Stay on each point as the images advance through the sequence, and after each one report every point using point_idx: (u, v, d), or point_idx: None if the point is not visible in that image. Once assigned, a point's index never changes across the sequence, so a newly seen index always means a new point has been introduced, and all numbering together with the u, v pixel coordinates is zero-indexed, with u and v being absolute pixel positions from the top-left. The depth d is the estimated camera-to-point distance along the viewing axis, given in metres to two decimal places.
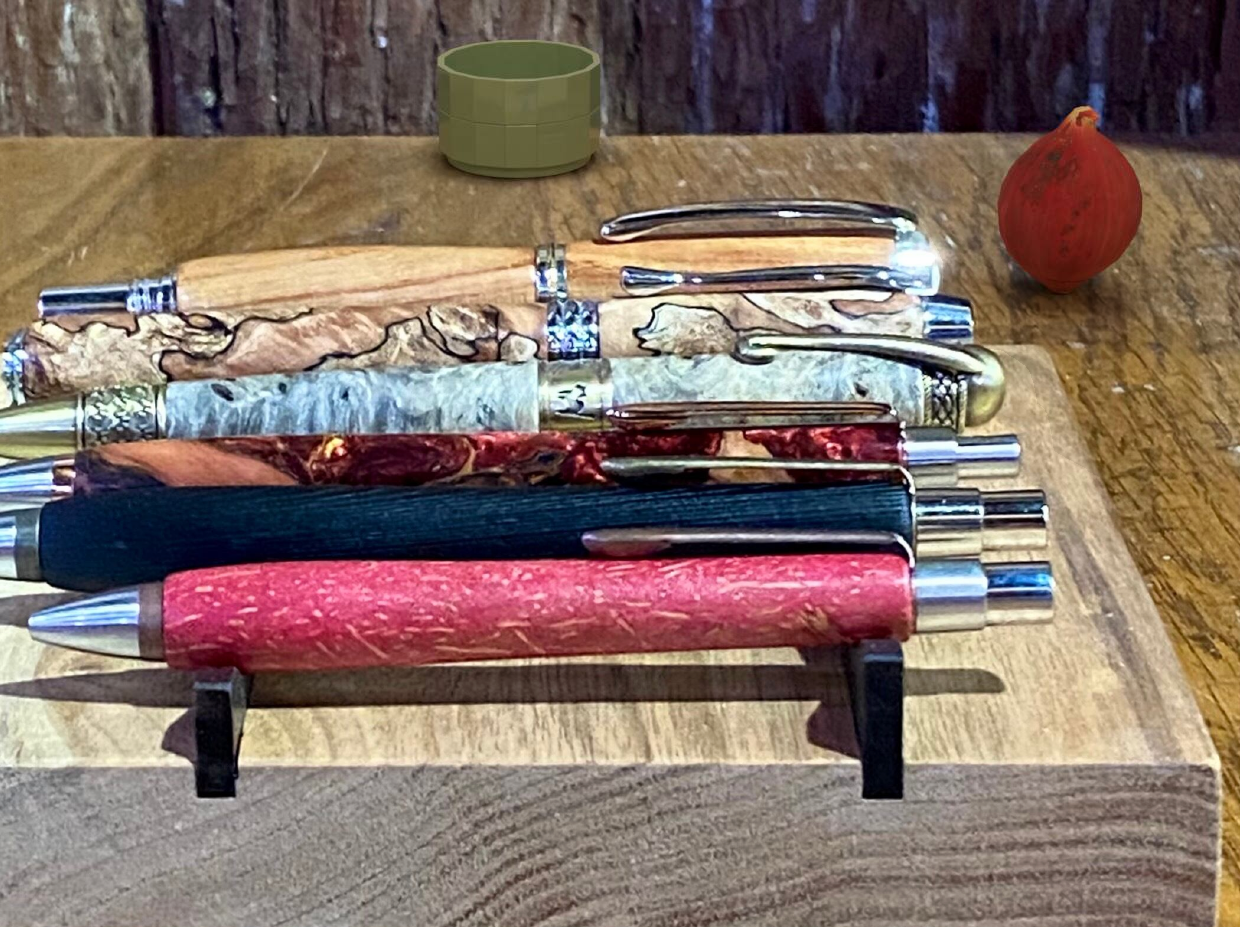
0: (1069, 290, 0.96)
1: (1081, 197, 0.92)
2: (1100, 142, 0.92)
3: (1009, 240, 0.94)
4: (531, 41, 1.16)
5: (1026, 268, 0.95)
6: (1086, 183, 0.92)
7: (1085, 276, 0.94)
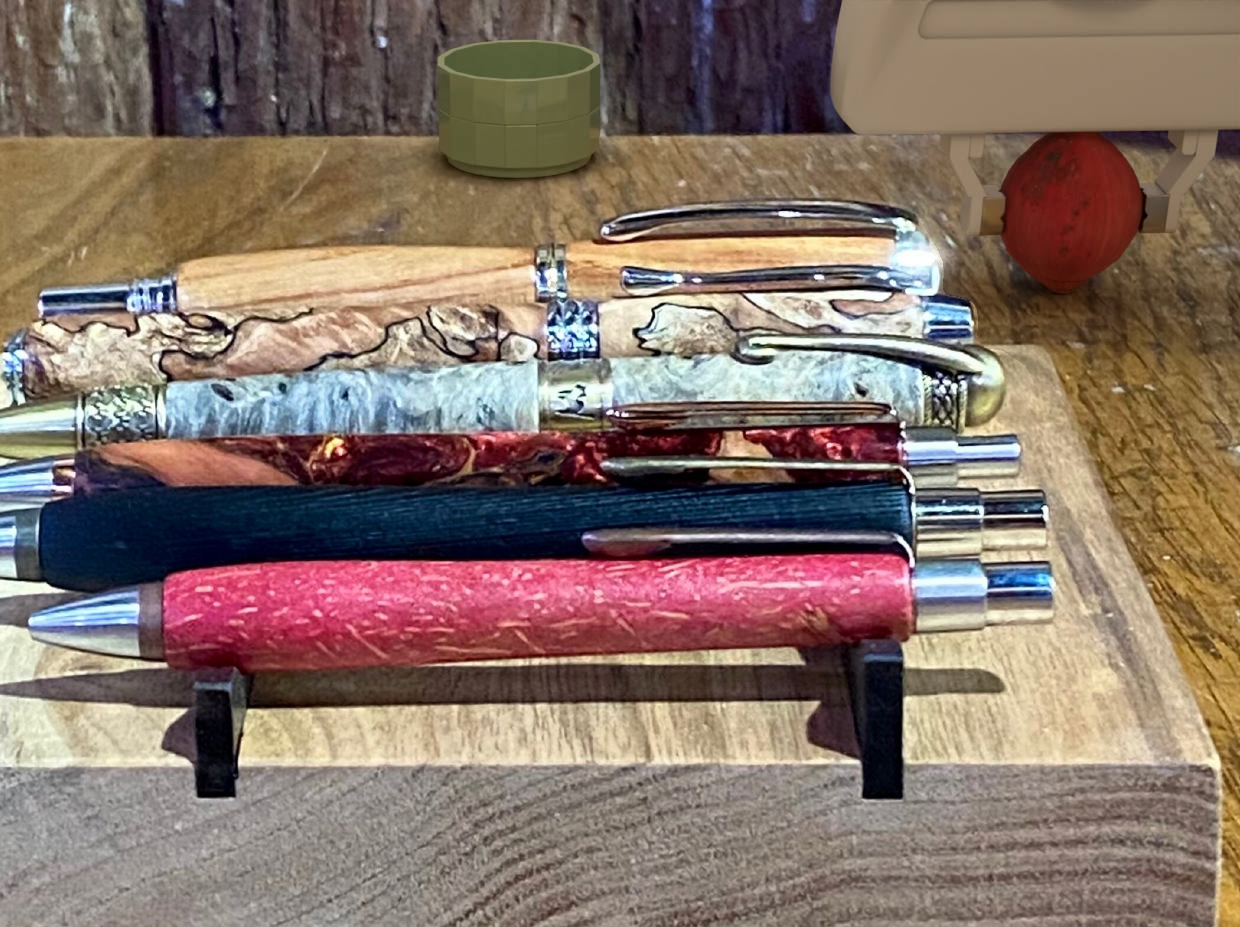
0: (1069, 290, 0.96)
1: (1080, 197, 0.92)
2: (1100, 142, 0.92)
3: (1009, 240, 0.94)
4: (531, 41, 1.16)
5: (1026, 268, 0.95)
6: (1086, 183, 0.92)
7: (1085, 276, 0.94)
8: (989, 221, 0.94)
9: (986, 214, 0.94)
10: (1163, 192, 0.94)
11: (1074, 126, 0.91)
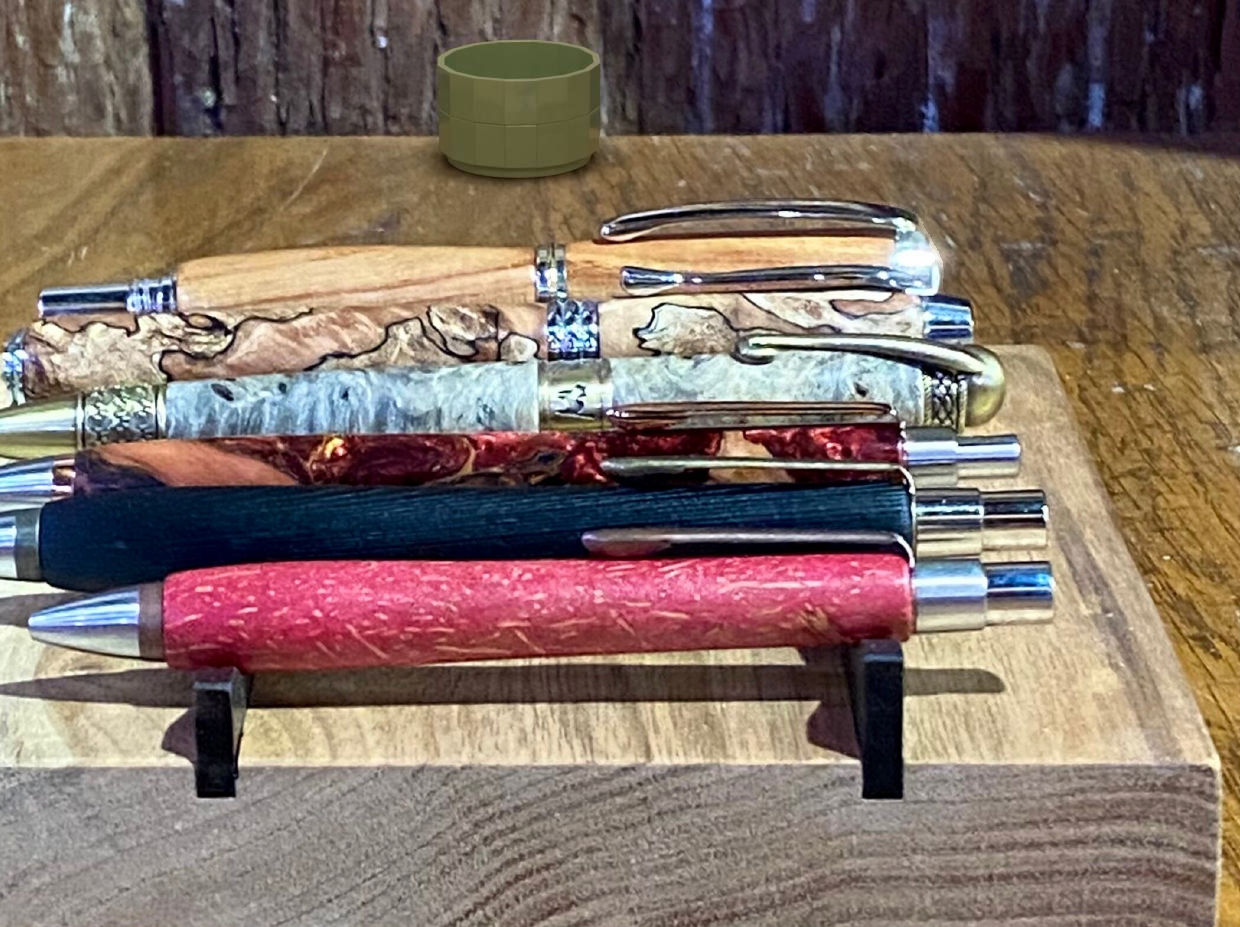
0: None
1: None
2: None
3: None
4: (531, 41, 1.16)
5: None
6: None
7: None
8: None
9: None
10: None
11: None
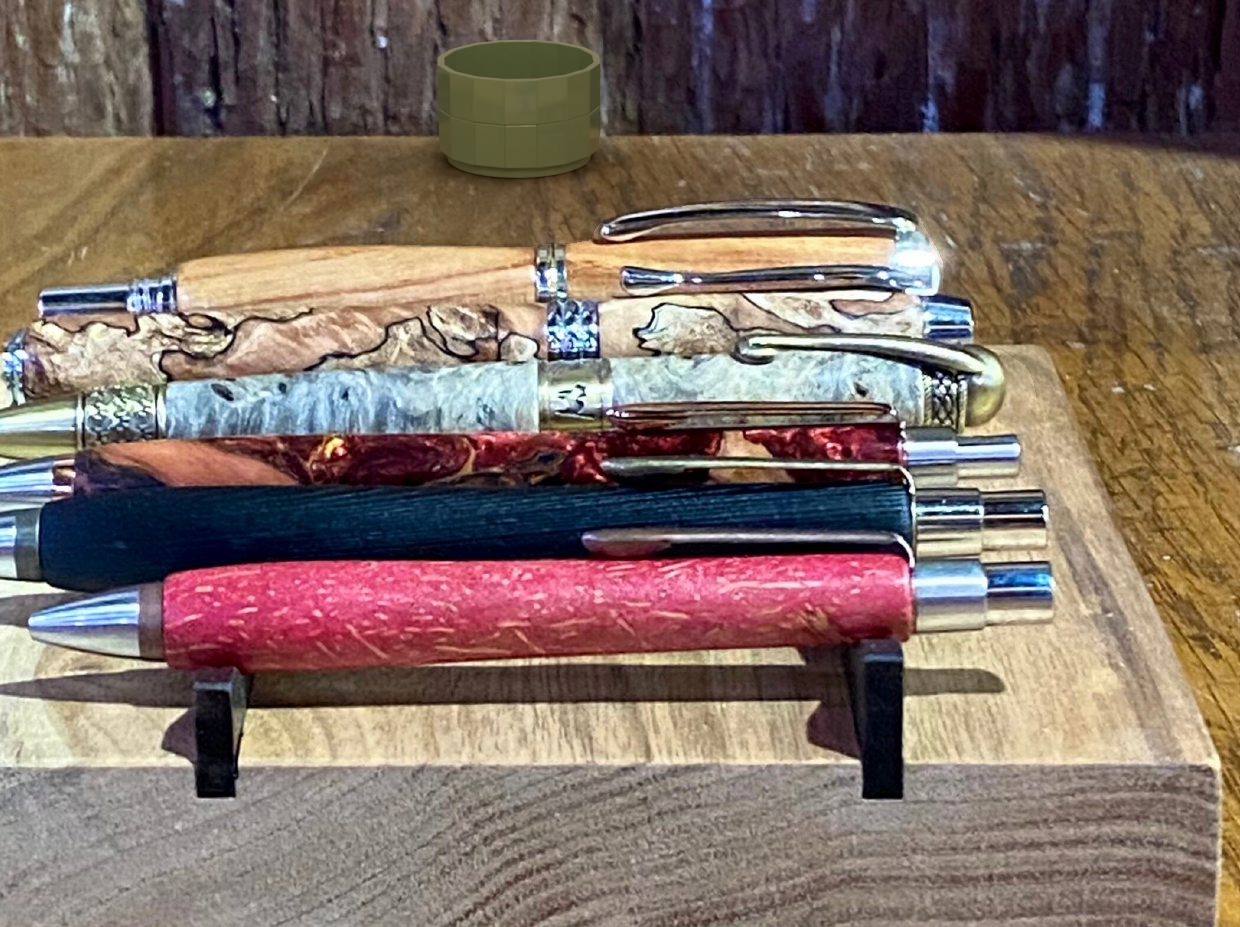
0: None
1: None
2: None
3: None
4: (531, 41, 1.16)
5: None
6: None
7: None
8: None
9: None
10: None
11: None
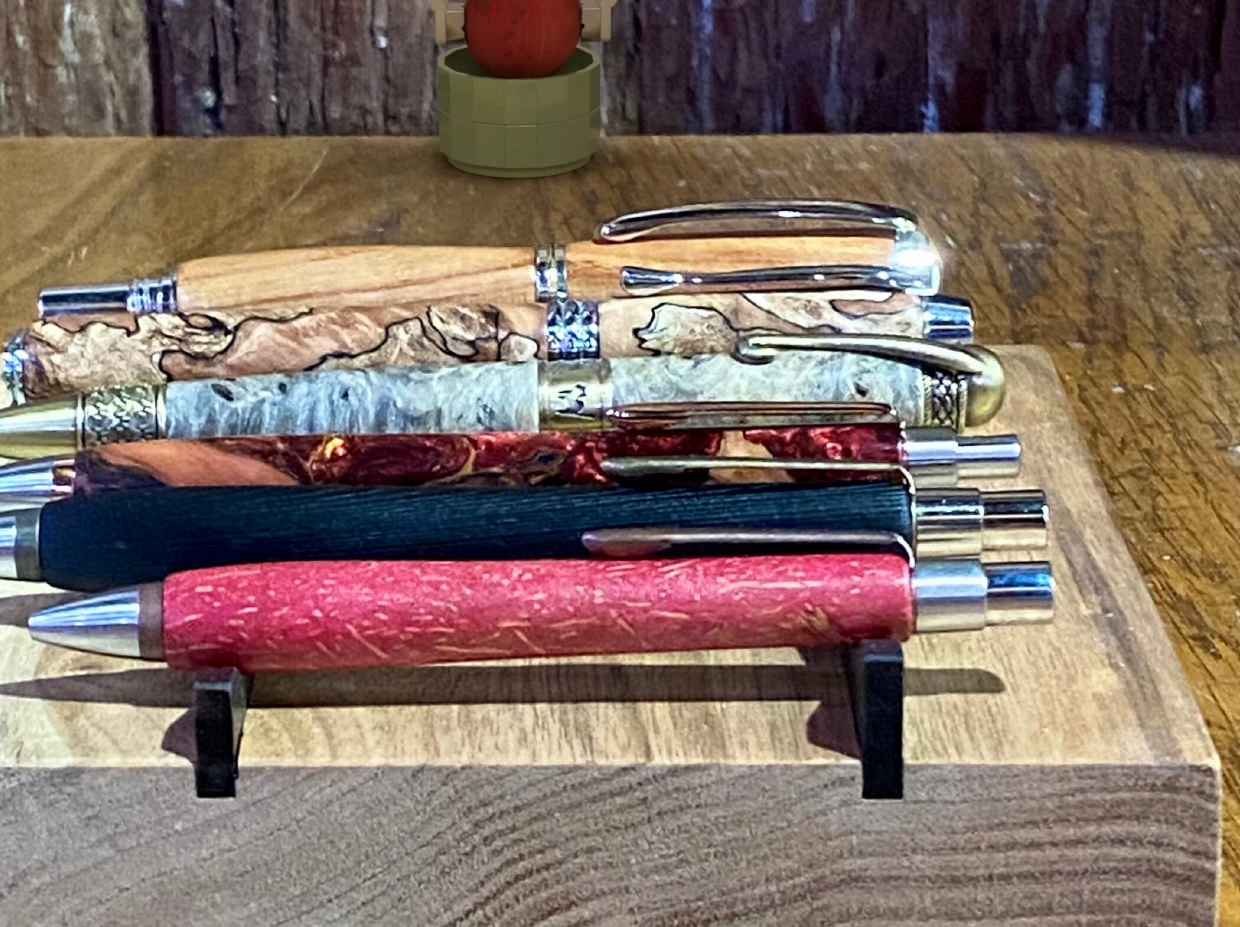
0: None
1: (518, 7, 1.09)
2: None
3: (470, 48, 1.12)
4: None
5: (488, 73, 1.12)
6: None
7: (535, 78, 1.12)
8: (452, 31, 1.11)
9: (449, 25, 1.11)
10: (596, 6, 1.11)
11: None
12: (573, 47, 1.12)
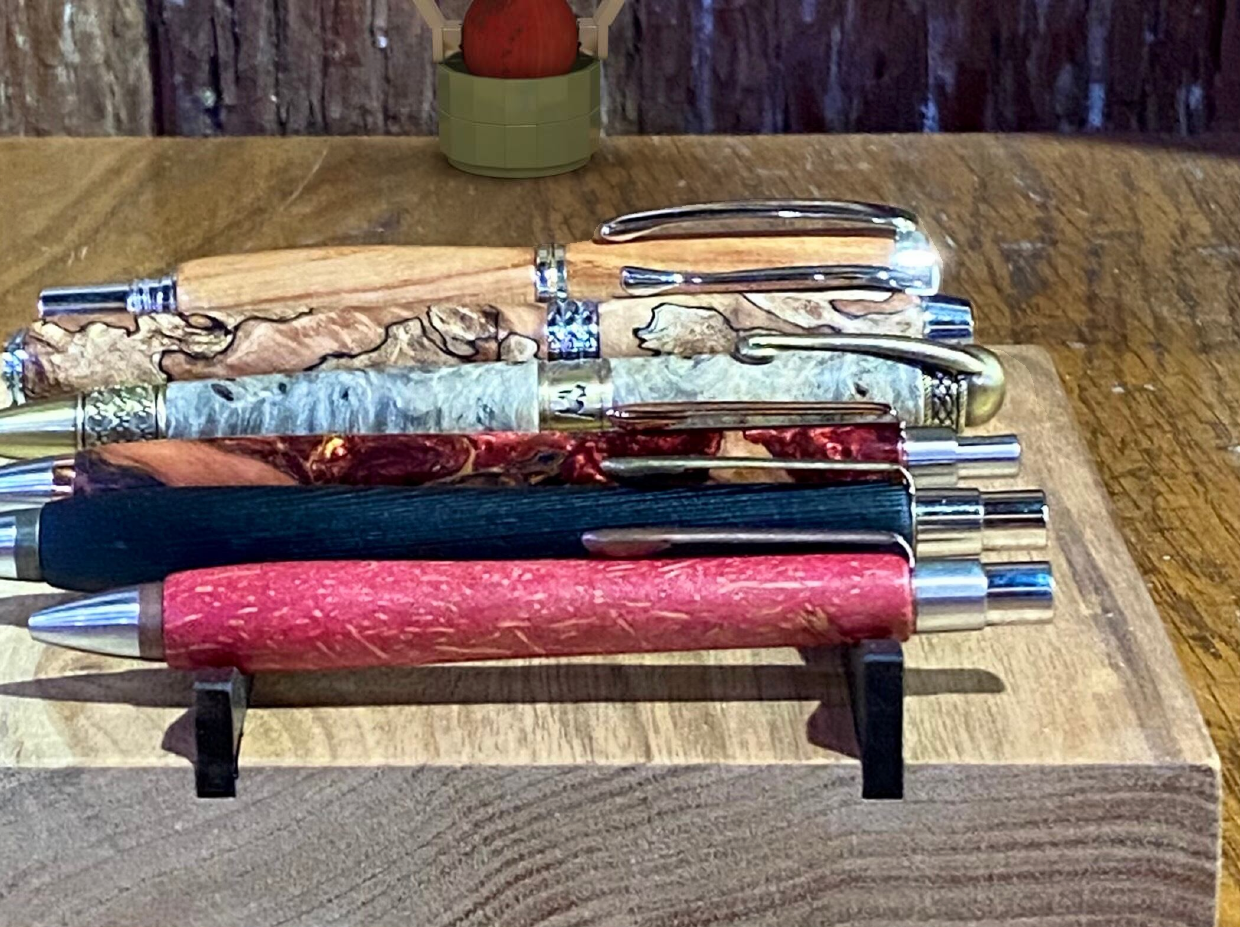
0: None
1: (515, 26, 1.09)
2: None
3: (467, 66, 1.12)
4: None
5: None
6: (519, 13, 1.09)
7: None
8: (449, 49, 1.12)
9: (446, 43, 1.12)
10: (594, 24, 1.11)
11: None
12: (570, 65, 1.12)
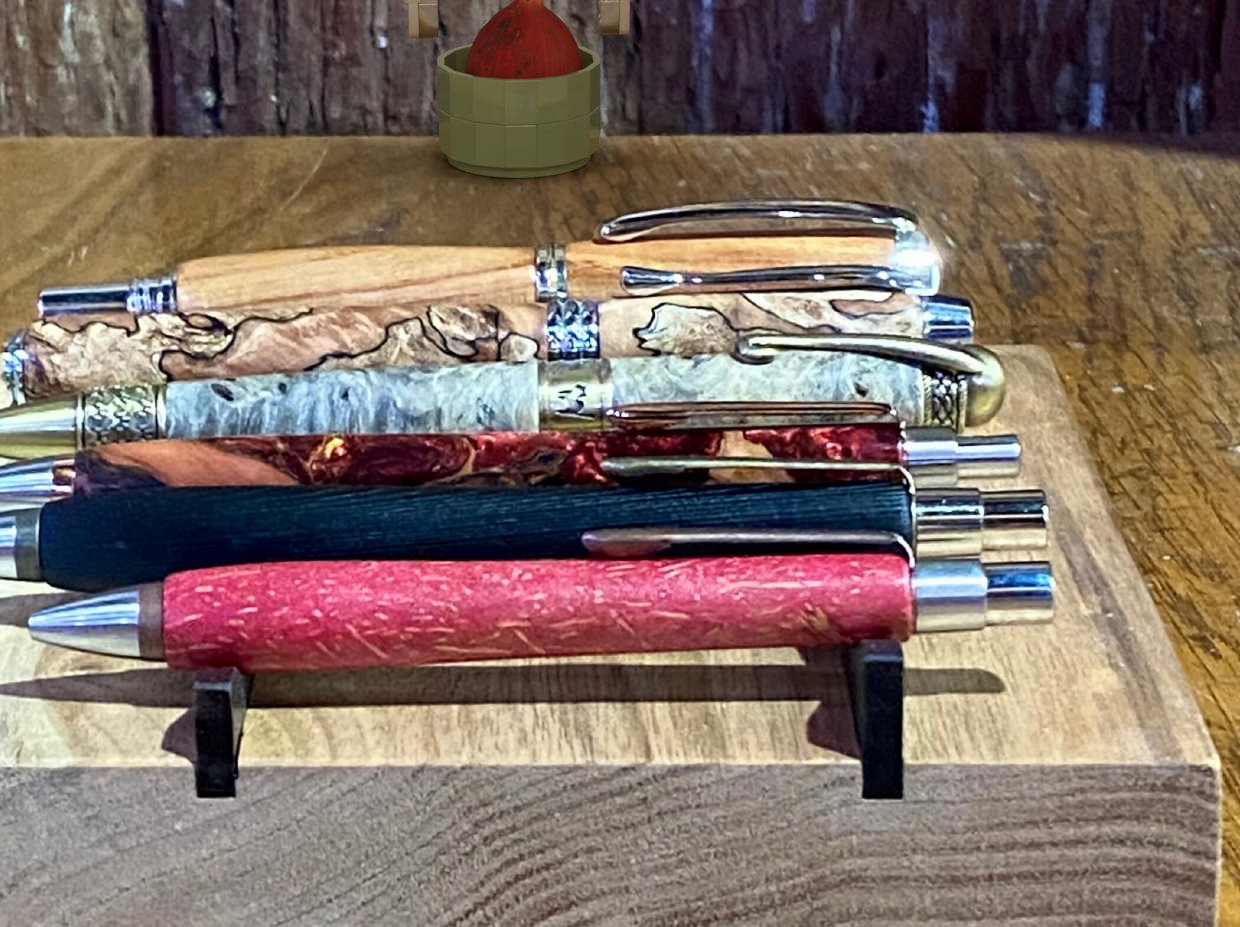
0: None
1: (522, 59, 1.10)
2: (544, 15, 1.11)
3: None
4: None
5: None
6: (527, 47, 1.10)
7: None
8: (425, 24, 1.11)
9: (422, 18, 1.11)
10: None
11: None
12: None
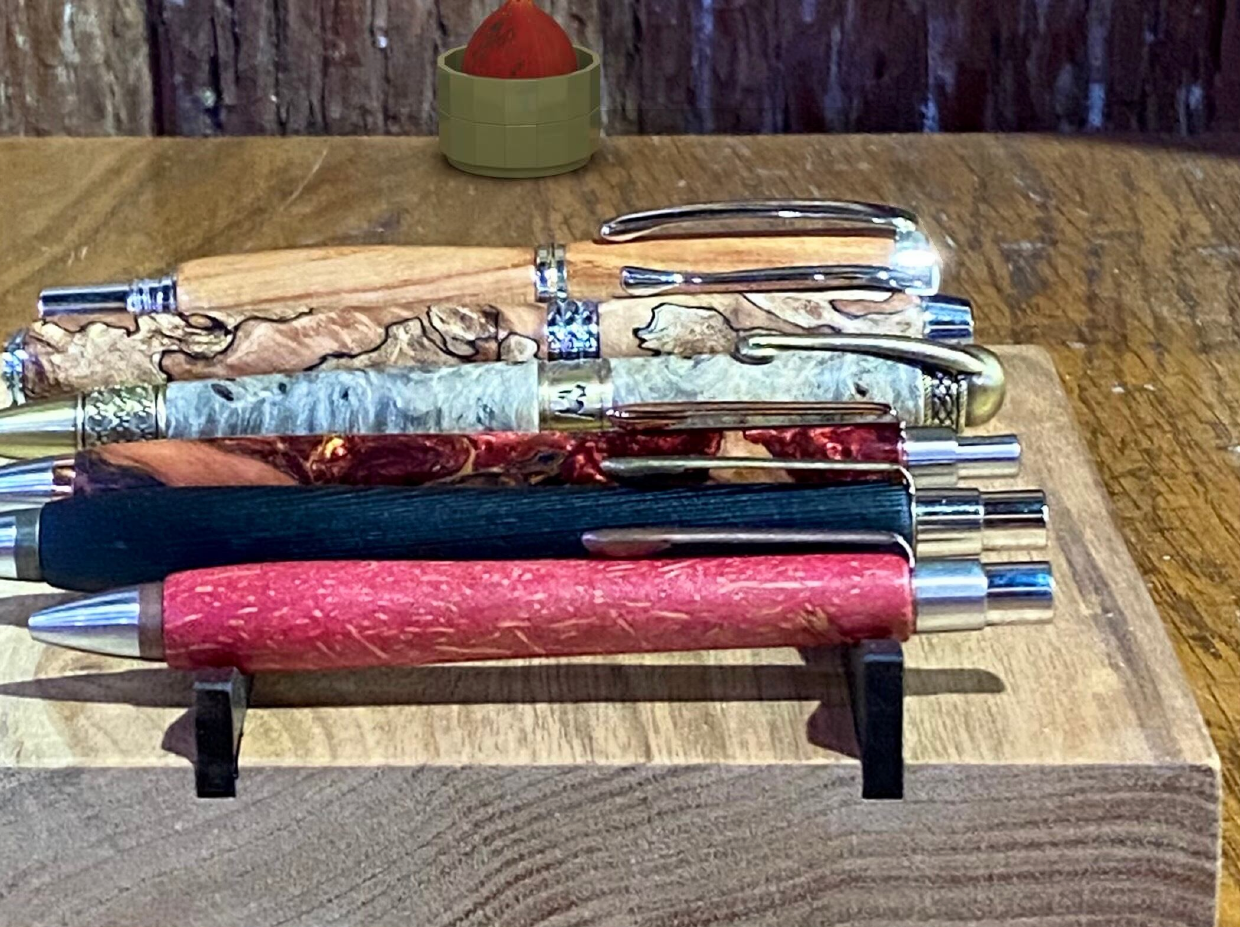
0: None
1: (516, 60, 1.10)
2: (535, 15, 1.11)
3: None
4: None
5: None
6: (520, 48, 1.10)
7: None
8: None
9: None
10: None
11: None
12: None
